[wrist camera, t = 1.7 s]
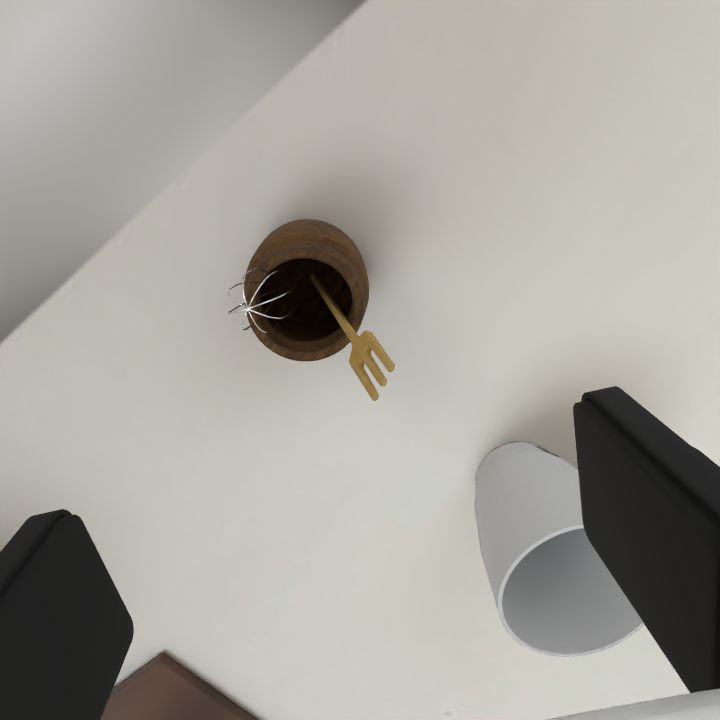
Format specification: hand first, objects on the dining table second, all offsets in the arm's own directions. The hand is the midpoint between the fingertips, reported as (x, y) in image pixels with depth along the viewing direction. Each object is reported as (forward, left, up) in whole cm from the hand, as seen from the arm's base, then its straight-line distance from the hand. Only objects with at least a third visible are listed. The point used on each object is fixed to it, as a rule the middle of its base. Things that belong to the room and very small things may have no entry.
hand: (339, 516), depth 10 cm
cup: (+15, -9, -21) cm, 27 cm away
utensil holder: (-1, 0, -21) cm, 21 cm away
